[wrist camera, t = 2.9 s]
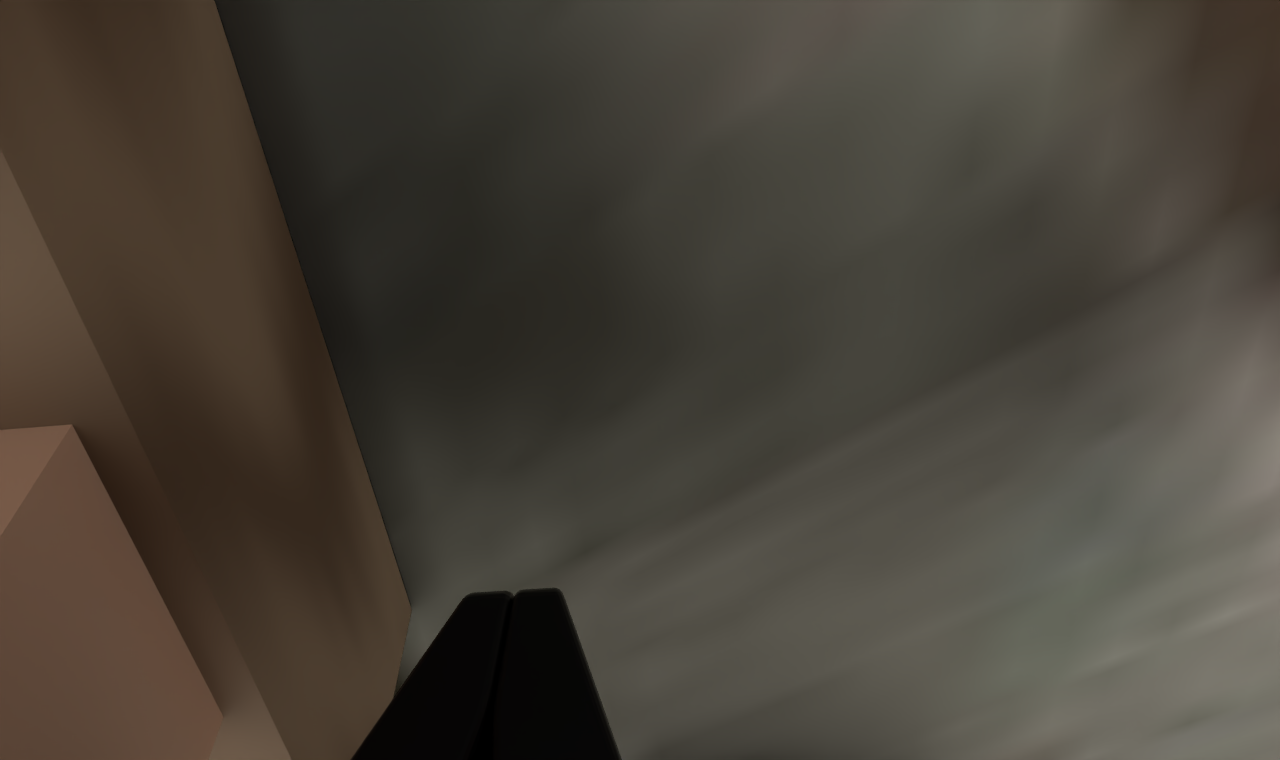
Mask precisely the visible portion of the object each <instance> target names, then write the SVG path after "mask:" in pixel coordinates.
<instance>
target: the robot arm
mask: <svg viewBox="0 0 1280 760" xmlns="http://www.w3.org/2000/svg"><path fill="white" fill-rule="evenodd" d="M351 760H622V759H621V756H620V753H619V750H618V748H617V745H616V742H615V739H614V736H613V733H612V731H611V728H610V725H609V722H608V719H607V717H606V714H605V711H604V708H603V705H602V702H601V700H600V697H599V694H598V691H597V688H596V685H595V683H594V680H593V677H592V674H591V671H590V668H589V666H588V663H587V660H586V657H585V654H584V651H583V649H582V646H581V643H580V640H579V637H578V634H577V632H576V629H575V626H574V623H573V620H572V617H571V615H570V612H569V609H568V606H567V603H566V600H565V598H564V595H563V593H562V592H561V590H559V589H557V588H543V589H526V590H520V591H518V592H517V593H516V595H515V596H514V595H513V594H512V593H511V592H508V591H493V592H477V593H470V594H469V595H467V596H465V597H464V598H463V599H462V601H461V602H460V603H459V605H458V606H457V608H456V609H455V611H454V612H453V613H452V615H451V616H450V618H449V619H448V621H447V622H446V623H445V625H444V626H443V628H442V629H441V631H440V632H439V633H438V635H437V636H436V638H435V639H434V641H433V642H432V644H431V645H430V646H429V648H428V649H427V651H426V652H425V654H424V655H423V656H422V658H421V659H420V661H419V662H418V664H417V665H416V666H415V668H414V669H413V671H412V672H411V674H410V675H409V677H408V678H407V679H406V681H405V682H404V684H403V685H402V687H401V688H400V689H399V691H398V692H397V694H396V695H395V697H394V698H393V699H392V701H391V702H390V704H389V705H388V707H387V708H386V709H385V711H384V712H383V714H382V715H381V717H380V718H379V720H378V721H377V722H376V724H375V725H374V727H373V728H372V730H371V731H370V732H369V734H368V735H367V737H366V738H365V740H364V741H363V742H362V744H361V745H360V747H359V748H358V750H357V751H356V753H355V754H354V755H353V757H352V758H351Z"/></svg>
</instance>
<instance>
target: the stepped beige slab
mask: <svg viewBox="0 0 1280 760" xmlns="http://www.w3.org/2000/svg"><path fill="white" fill-rule="evenodd" d="M71 424H72V425H73V427H74V429H75V431H76V433H77V435H78V437H79V439H80V441H81V443H82V445H83V447H84V448H85V450H86V452H87V454H88V456H89V458H90V460H91V462H92V464H93V466H94V468H95V470H96V472H97V474H98V475H99V477H100V479H101V481H102V483H103V485H104V487H105V489H106V491H107V493H108V495H109V497H110V499H111V501H112V503H113V504H114V506H115V508H116V510H117V512H118V514H119V516H120V518H121V520H122V522H123V524H124V526H125V528H126V530H127V531H128V533H129V535H130V537H131V539H132V541H133V543H134V545H135V547H136V549H137V551H138V553H139V555H140V557H141V559H142V560H143V562H144V564H145V566H146V568H147V570H148V572H149V574H150V576H151V578H152V580H153V582H154V584H155V586H156V587H157V589H158V591H159V593H160V595H161V597H162V599H163V601H164V603H165V605H166V607H167V609H168V611H169V613H170V615H171V616H172V618H173V620H174V622H175V624H176V626H177V628H178V630H179V632H180V634H181V636H182V638H183V640H184V642H185V643H186V645H187V647H188V649H189V651H190V653H191V655H192V657H193V659H194V661H195V663H196V665H197V667H198V669H199V670H200V672H201V674H202V676H203V678H204V680H205V682H206V684H207V686H208V688H209V690H210V692H211V694H212V696H213V698H214V699H215V701H216V703H217V705H218V707H219V709H220V711H221V713H222V715H223V720H222V723H221V726H220V728H219V731H218V734H217V737H216V740H215V743H214V745H213V748H212V751H211V754H210V757H209V760H351V758H352V757H353V755H354V754H355V753H356V751H357V750H358V748H359V747H360V745H361V744H362V742H363V741H364V740H365V738H366V737H367V735H368V734H369V732H370V731H371V730H372V728H373V727H374V725H375V724H376V722H377V721H378V720H379V718H380V717H381V715H382V714H383V712H384V711H385V709H386V708H387V707H388V705H389V704H390V702H391V701H392V699H393V696H394V692H395V687H396V682H397V677H398V673H399V668H400V663H401V659H402V654H403V649H404V644H405V640H406V635H407V630H408V626H409V621H410V616H411V611H412V609H411V606H410V603H409V600H408V597H407V594H406V591H405V588H404V584H403V581H402V578H401V575H400V572H399V569H398V566H397V563H396V560H395V557H394V554H393V550H392V547H391V544H390V541H389V538H388V535H387V532H386V529H385V526H384V523H383V520H382V517H381V513H380V510H379V507H378V504H377V501H376V498H375V495H374V492H373V489H372V486H371V483H370V479H369V476H368V473H367V470H366V467H365V464H364V461H363V458H362V455H361V452H360V449H359V446H358V442H357V439H356V436H355V433H354V430H353V427H352V424H351V421H350V418H349V415H348V412H347V408H346V405H345V402H344V399H343V396H342V393H341V390H340V387H339V384H338V381H337V378H336V375H335V371H334V368H333V365H332V362H331V359H330V356H329V353H328V350H327V347H326V344H325V341H324V337H323V334H322V331H321V328H320V325H319V322H318V319H317V316H316V313H315V310H314V307H313V304H312V300H311V297H310V294H309V291H308V288H307V285H306V282H305V279H304V276H303V273H302V270H301V266H300V263H299V260H298V257H297V254H296V251H295V248H294V245H293V242H292V239H291V236H290V233H289V229H288V226H287V223H286V220H285V217H284V214H283V211H282V208H281V205H280V202H279V199H278V195H277V192H276V189H275V186H274V183H273V180H272V177H271V174H270V171H269V168H268V165H267V162H266V158H265V155H264V152H263V149H262V146H261V143H260V140H259V137H258V134H257V131H256V128H255V124H254V121H253V118H252V115H251V112H250V109H249V106H248V103H247V100H246V97H245V94H244V91H243V87H242V84H241V81H240V78H239V75H238V72H237V69H236V66H235V63H234V60H233V57H232V53H231V50H230V47H229V44H228V41H227V38H226V35H225V32H224V29H223V26H222V23H221V20H220V16H219V13H218V10H217V7H216V4H215V1H214V0H0V430H6V429H19V428H32V427H45V426H58V425H71Z"/></svg>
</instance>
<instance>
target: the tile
mask: <svg viewBox="0 0 1280 760" xmlns="http://www.w3.org/2000/svg"><path fill="white" fill-rule="evenodd" d="M222 720H223V715H222V713H221V711H220V709H219V707H218V705H217V703H216V701H215V699H214V698H213V696H212V694H211V692H210V690H209V688H208V686H207V684H206V682H205V680H204V678H203V676H202V674H201V672H200V670H199V669H198V667H197V665H196V663H195V661H194V659H193V657H192V655H191V653H190V651H189V649H188V647H187V645H186V643H185V642H184V640H183V638H182V636H181V634H180V632H179V630H178V628H177V626H176V624H175V622H174V620H173V618H172V616H171V615H170V613H169V611H168V609H167V607H166V605H165V603H164V601H163V599H162V597H161V595H160V593H159V591H158V589H157V587H156V586H155V584H154V582H153V580H152V578H151V576H150V574H149V572H148V570H147V568H146V566H145V564H144V562H143V560H142V559H141V557H140V555H139V553H138V551H137V549H136V547H135V545H134V543H133V541H132V539H131V537H130V535H129V533H128V531H127V530H126V528H125V526H124V524H123V522H122V520H121V518H120V516H119V514H118V512H117V510H116V508H115V506H114V504H113V503H112V501H111V499H110V497H109V495H108V493H107V491H106V489H105V487H104V485H103V483H102V481H101V479H100V477H99V475H98V474H97V472H96V470H95V468H94V466H93V464H92V462H91V460H90V458H89V456H88V454H87V452H86V450H85V448H84V447H83V445H82V443H81V441H80V439H79V437H78V435H77V433H76V431H75V429H74V427H73V425H72V424H71V425H58V426H45V427H32V428H19V429H6V430H0V760H209V757H210V754H211V751H212V748H213V745H214V743H215V740H216V737H217V734H218V731H219V728H220V726H221V723H222Z"/></svg>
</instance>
